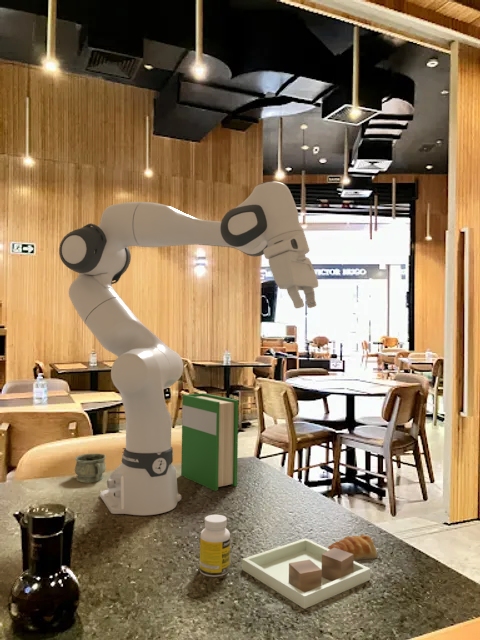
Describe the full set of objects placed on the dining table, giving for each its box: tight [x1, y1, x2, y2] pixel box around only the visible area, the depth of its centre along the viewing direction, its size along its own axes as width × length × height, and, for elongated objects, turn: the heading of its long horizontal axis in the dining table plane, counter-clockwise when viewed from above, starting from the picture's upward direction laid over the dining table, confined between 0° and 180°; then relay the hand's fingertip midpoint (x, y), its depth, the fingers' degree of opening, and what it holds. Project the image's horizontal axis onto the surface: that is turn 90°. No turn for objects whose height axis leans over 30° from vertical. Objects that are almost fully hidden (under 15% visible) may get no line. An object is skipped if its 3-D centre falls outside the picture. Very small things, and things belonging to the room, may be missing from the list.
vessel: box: [74, 453, 107, 483], centre depth 149 cm, size 12×9×6 cm
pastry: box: [327, 534, 378, 561], centre depth 101 cm, size 9×7×4 cm
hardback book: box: [180, 392, 239, 492], centre depth 149 cm, size 18×7×24 cm, turn 38°
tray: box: [241, 537, 371, 610], centre depth 92 cm, size 16×16×2 cm
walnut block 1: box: [289, 560, 322, 593], centre depth 86 cm, size 4×4×4 cm
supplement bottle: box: [199, 514, 231, 578], centre depth 94 cm, size 5×5×10 cm
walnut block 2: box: [322, 548, 354, 581], centre depth 91 cm, size 4×4×4 cm
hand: (306, 307), depth 117 cm, fingers open, 8 cm apart
